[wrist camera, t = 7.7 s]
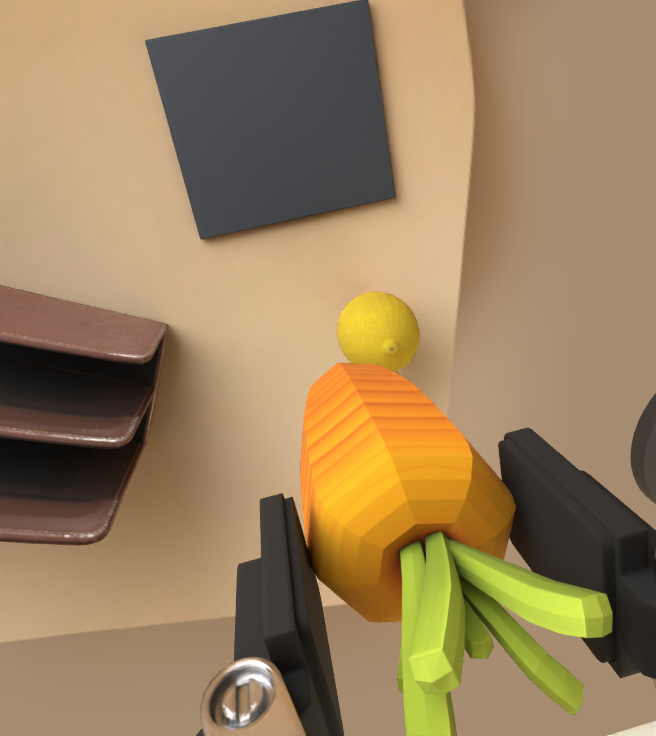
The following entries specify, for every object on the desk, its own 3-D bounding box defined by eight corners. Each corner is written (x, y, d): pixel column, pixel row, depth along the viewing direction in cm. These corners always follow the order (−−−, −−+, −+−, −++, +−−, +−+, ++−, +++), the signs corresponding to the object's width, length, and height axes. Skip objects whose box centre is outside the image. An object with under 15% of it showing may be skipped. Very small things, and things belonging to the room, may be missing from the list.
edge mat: (366, 1, 32) (368, -2, 32) (393, 197, 36) (395, 197, 36) (146, 42, 31) (144, 40, 31) (201, 238, 35) (200, 239, 35)
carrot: (379, 301, 20) (663, 550, 6) (409, 407, 22) (683, 784, 8) (262, 342, 20) (287, 688, 6) (302, 445, 22) (392, 895, 8)
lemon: (399, 280, 38) (435, 302, 31) (400, 349, 40) (434, 386, 33) (327, 286, 38) (346, 310, 30) (331, 356, 40) (350, 395, 32)
